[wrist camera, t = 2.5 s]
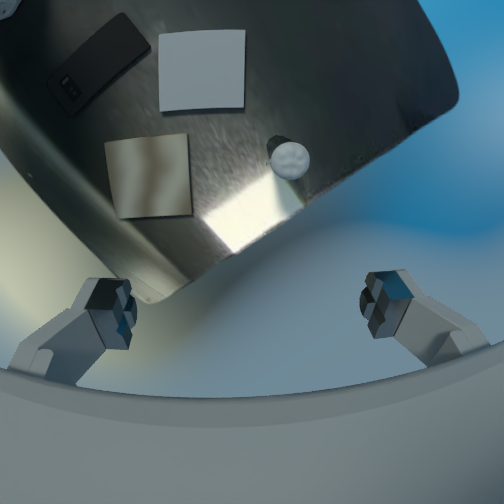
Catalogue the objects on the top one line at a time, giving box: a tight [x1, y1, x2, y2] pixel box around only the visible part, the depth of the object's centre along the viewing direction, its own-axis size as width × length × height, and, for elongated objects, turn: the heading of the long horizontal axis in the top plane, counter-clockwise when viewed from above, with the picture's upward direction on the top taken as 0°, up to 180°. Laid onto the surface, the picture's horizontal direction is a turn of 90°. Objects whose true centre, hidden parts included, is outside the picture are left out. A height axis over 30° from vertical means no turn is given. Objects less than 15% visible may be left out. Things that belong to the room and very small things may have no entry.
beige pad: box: [104, 134, 192, 219], centre depth 38 cm, size 12×12×1 cm
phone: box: [47, 13, 151, 117], centre depth 28 cm, size 8×1×15 cm
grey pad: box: [159, 30, 245, 111], centre depth 31 cm, size 11×11×1 cm
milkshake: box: [266, 135, 310, 180], centre depth 34 cm, size 4×5×10 cm
